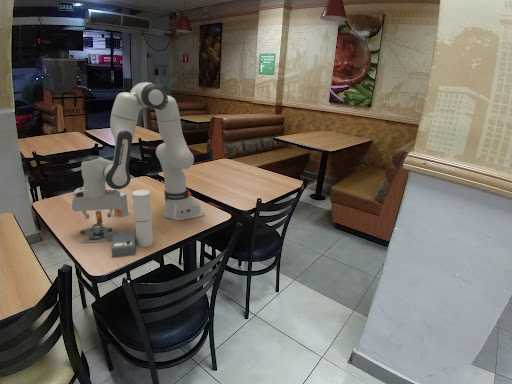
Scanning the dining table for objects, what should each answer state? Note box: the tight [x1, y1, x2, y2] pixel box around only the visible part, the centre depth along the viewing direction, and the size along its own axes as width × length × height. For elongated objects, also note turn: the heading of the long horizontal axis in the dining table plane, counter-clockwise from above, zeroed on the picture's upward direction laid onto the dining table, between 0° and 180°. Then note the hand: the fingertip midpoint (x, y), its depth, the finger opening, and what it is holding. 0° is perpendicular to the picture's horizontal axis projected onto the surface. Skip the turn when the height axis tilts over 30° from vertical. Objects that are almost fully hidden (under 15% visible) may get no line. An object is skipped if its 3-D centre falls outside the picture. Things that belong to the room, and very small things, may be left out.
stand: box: [84, 230, 137, 258], centre depth 137 cm, size 22×24×6 cm
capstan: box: [79, 210, 113, 240], centre depth 142 cm, size 13×12×10 cm
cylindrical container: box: [132, 189, 154, 248], centre depth 135 cm, size 7×7×25 cm
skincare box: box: [113, 192, 129, 217], centre depth 163 cm, size 6×4×12 cm
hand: (98, 217), depth 145 cm, fingers open, 8 cm apart
